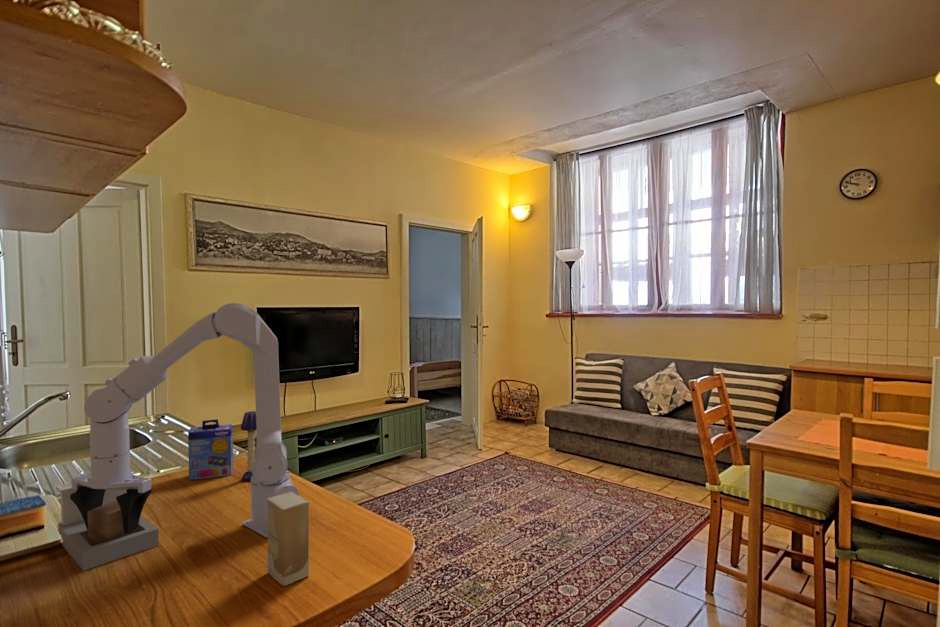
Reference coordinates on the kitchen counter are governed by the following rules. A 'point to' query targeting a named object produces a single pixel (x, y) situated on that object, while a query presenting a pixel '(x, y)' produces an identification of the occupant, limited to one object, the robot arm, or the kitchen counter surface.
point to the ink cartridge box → (210, 450)
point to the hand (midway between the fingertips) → (112, 529)
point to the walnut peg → (105, 524)
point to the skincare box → (288, 538)
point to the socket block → (105, 552)
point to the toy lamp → (249, 441)
